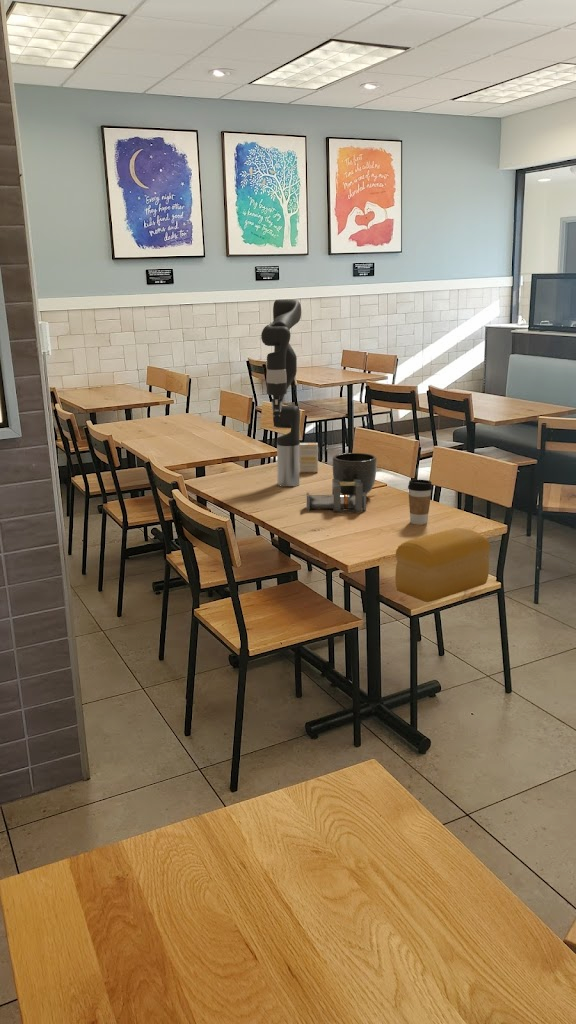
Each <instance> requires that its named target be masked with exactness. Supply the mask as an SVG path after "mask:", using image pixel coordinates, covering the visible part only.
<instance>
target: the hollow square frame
mask: <svg viewBox="0 0 576 1024" xmlns="http://www.w3.org/2000/svg"><path fill="white" fill-rule="evenodd" d="M331 483H332V484H331V486H332V489H331V495H334V508H333V514H363V508H362V497H363V486H362V483H361V480H360V479H354V482H339V479H333V478H332V482H331ZM341 486H353V495H355V508H340V505H341V495H342V494H341Z"/></svg>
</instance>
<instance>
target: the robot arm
mask: <svg viewBox="0 0 576 1024" xmlns="http://www.w3.org/2000/svg"><path fill="white" fill-rule="evenodd" d="M272 305H273V307H272V316H273V317H272V318H273V321H272V322H271V323H268V324H267V325H265V326H264V327H263V329H262V331H261V334H260V338H261V342H262V343H263V344H264V345H265V346H267V347H274V349H273V350H274V351H273V352H269V353H267V354H266V355H267V356H266V394H267V395H268V396H273V398H271V402H270V403H271V411H272V418H273V419H272V420H273V422H272V423H273V427H275V428H278V429H290V431H289V432H288V433H286V434H283V435H281V436H278V437H277V439H276V446H277V447H276V450H277V453H276V457H277V459H276V460H277V461H276V462H277V469H276V470H277V486H279V485H281V486H280V487H283V486H293V487H297V485H298V486H300V463H299V444H300V428H301V427H300V426H301V425H300V424H301V410H300V408H299V406H298V405H283V402H284V397H285V395H286V394H287V393H288V389H289V387H290V386H291V384H292V382H293V381H294V379H295V378H296V374H297V372H298V371H297V370H298V368H297V367H298V364H297V354H296V352H295V351H294V349H293V347H292V346H291V344H290V341H291V331H290V330H291V329H292V328H293V327H294V326H295V325H297V324H298V323H299V322H300V320H301V318H302V306H301V302H300V301H299V300H296V299H276V300H275V301H274V302H273V304H272Z"/></svg>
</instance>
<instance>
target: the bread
mask: <svg viewBox="0 0 576 1024" xmlns="http://www.w3.org/2000/svg"><path fill="white" fill-rule="evenodd" d="M490 553H491V543H490V541H489V540H488V538H486V537H485V536H484V535H482V534H481V533H479V532H477V531H475V530H473V529H470V528H459V527H458V528H457V527H456V528H451V529H447V530H443V531H439V532H435V533H432V534H428V535H427V534H426V535H424V536H420V537H416V538H411V539H409V540H406V541H404V542H403V543H401V544H400V545H398V547H397V549H396V551H395V559H396V564H395V577H394V578H395V581H394V582H395V588H396V591H397V592H400V593H403V594H405V595H407V596H409V597H412V598H414V599H417V600H420V601H422V602H424V603H425V602H426V603H430V602H431V603H432V602H435V601H437V600H440V599H443V598H447V597H450V596H453V595H456V594H459V593H462V592H465V591H468V590H471V589H475V588H478V587H481V586H484V585H485V584H487V582H488V579H489V578H488V577H489V571H490V558H489V557H490V556H489V554H490Z"/></svg>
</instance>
